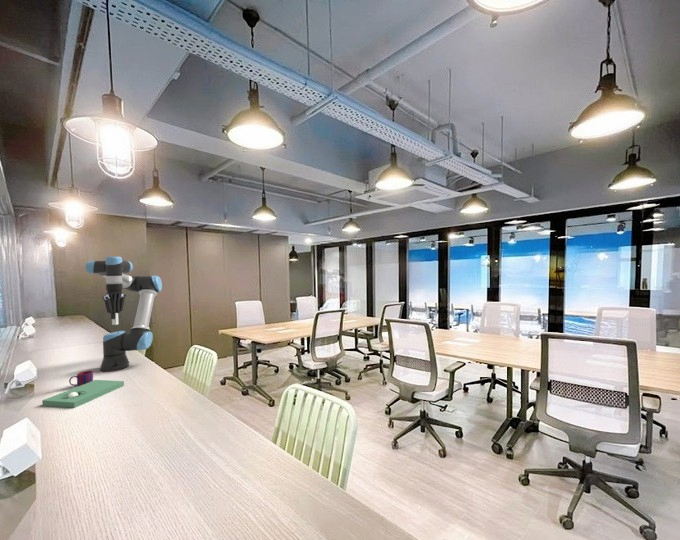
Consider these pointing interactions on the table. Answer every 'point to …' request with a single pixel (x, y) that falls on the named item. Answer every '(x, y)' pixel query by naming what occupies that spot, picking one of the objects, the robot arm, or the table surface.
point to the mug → (83, 378)
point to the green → (83, 393)
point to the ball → (72, 394)
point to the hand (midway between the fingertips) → (115, 324)
